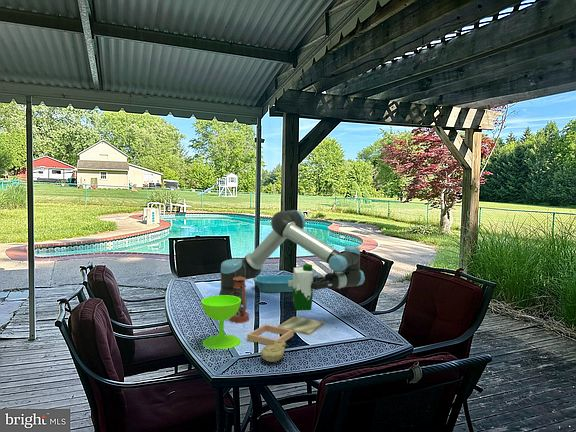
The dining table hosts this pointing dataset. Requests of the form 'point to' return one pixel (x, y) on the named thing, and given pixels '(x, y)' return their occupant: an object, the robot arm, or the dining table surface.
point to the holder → (268, 341)
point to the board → (302, 325)
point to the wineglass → (221, 319)
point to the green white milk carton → (303, 287)
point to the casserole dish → (274, 283)
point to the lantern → (241, 314)
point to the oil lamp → (273, 351)
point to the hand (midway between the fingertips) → (292, 285)
